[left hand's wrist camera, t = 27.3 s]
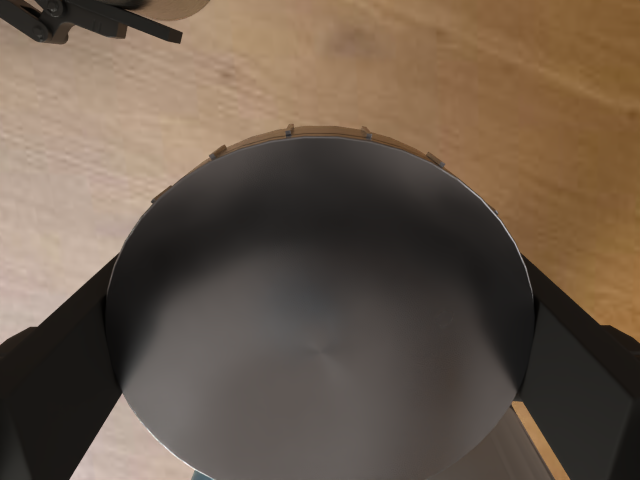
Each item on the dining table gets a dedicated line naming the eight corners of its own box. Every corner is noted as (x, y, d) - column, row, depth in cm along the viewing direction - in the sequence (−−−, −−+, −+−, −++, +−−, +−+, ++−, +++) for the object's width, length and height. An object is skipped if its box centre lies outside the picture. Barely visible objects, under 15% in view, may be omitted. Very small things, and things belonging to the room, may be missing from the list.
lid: (142, 79, 10) (107, 81, 8) (569, 169, 10) (615, 187, 9) (123, 425, 13) (96, 475, 12) (443, 474, 14) (459, 528, 12)
